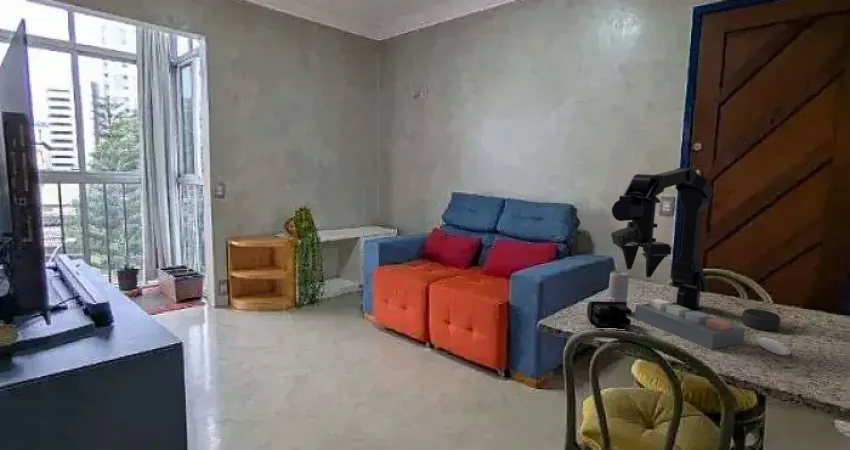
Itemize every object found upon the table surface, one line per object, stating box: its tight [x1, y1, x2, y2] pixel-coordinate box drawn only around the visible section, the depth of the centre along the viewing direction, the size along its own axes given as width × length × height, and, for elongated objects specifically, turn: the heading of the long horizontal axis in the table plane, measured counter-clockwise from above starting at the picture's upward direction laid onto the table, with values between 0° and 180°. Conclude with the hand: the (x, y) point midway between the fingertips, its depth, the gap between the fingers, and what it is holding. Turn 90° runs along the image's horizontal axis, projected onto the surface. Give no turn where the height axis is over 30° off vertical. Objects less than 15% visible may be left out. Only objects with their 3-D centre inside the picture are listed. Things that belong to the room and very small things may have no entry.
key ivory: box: [648, 298, 671, 310], centre depth 139 cm, size 4×4×2 cm
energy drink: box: [607, 270, 630, 303], centre depth 145 cm, size 5×5×12 cm
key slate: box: [685, 310, 710, 324], centre depth 128 cm, size 4×4×2 cm
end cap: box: [586, 300, 633, 331], centre depth 133 cm, size 10×7×7 cm
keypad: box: [634, 302, 746, 350], centre depth 131 cm, size 12×24×4 cm, turn 23°
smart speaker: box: [741, 308, 781, 332], centre depth 136 cm, size 9×9×4 cm
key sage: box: [666, 305, 689, 316], centre depth 134 cm, size 4×4×2 cm
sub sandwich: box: [756, 336, 791, 356], centre depth 118 cm, size 3×8×3 cm, turn 10°
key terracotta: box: [706, 317, 733, 331], centre depth 123 cm, size 4×4×2 cm
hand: (638, 273), depth 137 cm, fingers open, 9 cm apart
